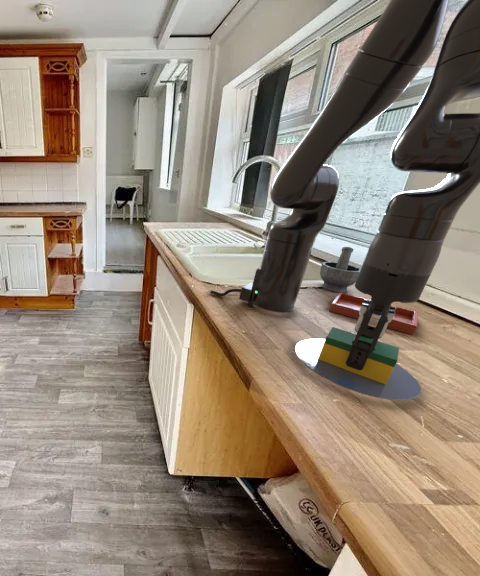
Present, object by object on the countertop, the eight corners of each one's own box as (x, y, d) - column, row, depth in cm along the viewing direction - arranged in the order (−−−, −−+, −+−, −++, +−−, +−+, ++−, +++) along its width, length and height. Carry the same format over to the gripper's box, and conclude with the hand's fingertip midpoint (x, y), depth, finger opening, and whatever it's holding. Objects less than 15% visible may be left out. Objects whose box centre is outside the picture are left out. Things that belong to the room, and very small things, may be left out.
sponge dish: (329, 310, 76) (331, 303, 75) (337, 299, 83) (340, 292, 83) (413, 334, 66) (417, 326, 65) (413, 319, 74) (417, 311, 73)
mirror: (280, 367, 53) (282, 361, 52) (305, 334, 64) (307, 329, 64) (417, 425, 42) (421, 418, 41) (418, 373, 53) (421, 367, 53)
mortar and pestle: (353, 297, 85) (369, 256, 81) (313, 288, 91) (326, 249, 86) (353, 287, 93) (368, 248, 89) (317, 279, 99) (329, 242, 94)
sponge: (317, 359, 53) (326, 336, 52) (324, 347, 57) (332, 326, 55) (385, 384, 48) (397, 360, 46) (388, 370, 51) (399, 347, 50)
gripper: (369, 252, 53) (337, 335, 59) (358, 268, 43) (321, 365, 49) (430, 262, 48) (388, 352, 54) (433, 282, 38) (382, 388, 45)
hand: (356, 358), depth 52 cm, fingers open, 7 cm apart
